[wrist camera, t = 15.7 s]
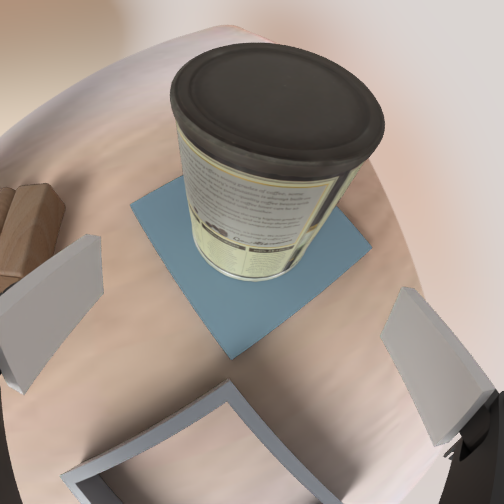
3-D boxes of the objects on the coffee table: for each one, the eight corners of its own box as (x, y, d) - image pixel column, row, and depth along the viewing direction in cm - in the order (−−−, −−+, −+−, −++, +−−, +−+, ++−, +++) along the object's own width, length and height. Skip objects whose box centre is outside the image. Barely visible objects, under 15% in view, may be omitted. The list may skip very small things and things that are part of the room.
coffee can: (197, 174, 26) (190, 37, 13) (304, 182, 27) (356, 58, 14) (184, 280, 22) (143, 156, 9) (313, 285, 23) (413, 183, 10)
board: (132, 210, 25) (129, 204, 24) (266, 141, 30) (267, 135, 29) (231, 360, 21) (231, 360, 20) (367, 251, 26) (372, 247, 25)
